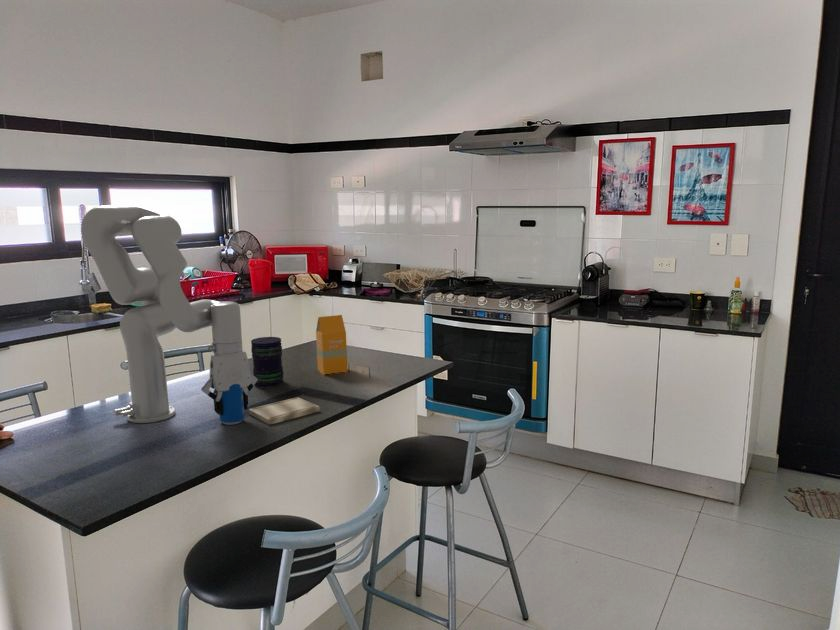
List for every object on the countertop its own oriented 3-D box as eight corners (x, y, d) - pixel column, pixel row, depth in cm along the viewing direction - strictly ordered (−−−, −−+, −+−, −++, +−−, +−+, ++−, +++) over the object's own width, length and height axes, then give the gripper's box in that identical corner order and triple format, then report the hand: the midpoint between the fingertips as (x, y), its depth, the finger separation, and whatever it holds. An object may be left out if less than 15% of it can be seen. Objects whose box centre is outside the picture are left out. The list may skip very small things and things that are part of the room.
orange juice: (317, 370, 224) (314, 315, 220) (341, 367, 228) (338, 313, 224) (323, 375, 217) (321, 319, 213) (347, 372, 221) (345, 316, 217)
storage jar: (276, 388, 202) (273, 343, 200) (248, 387, 204) (245, 342, 202) (288, 380, 212) (286, 337, 209) (261, 378, 214) (259, 336, 211)
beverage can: (240, 425, 169) (238, 383, 167) (216, 425, 169) (214, 383, 167) (247, 417, 175) (245, 376, 173) (224, 417, 175) (222, 376, 173)
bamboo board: (269, 424, 169) (268, 419, 169) (248, 414, 178) (248, 408, 178) (319, 411, 180) (319, 405, 179) (298, 401, 188) (297, 396, 188)
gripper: (202, 355, 160) (206, 422, 163) (263, 344, 171) (267, 407, 174) (190, 350, 165) (195, 414, 169) (251, 340, 177) (254, 401, 180)
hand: (231, 410), depth 171 cm, fingers closed on beverage can, 6 cm apart
